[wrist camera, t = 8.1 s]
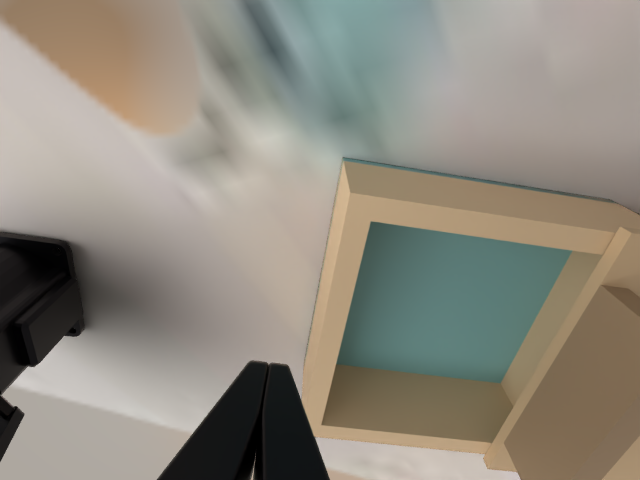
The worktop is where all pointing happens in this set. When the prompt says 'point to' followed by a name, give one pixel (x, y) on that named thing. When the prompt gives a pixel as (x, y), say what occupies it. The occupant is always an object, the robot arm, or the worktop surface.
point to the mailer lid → (584, 384)
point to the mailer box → (442, 301)
